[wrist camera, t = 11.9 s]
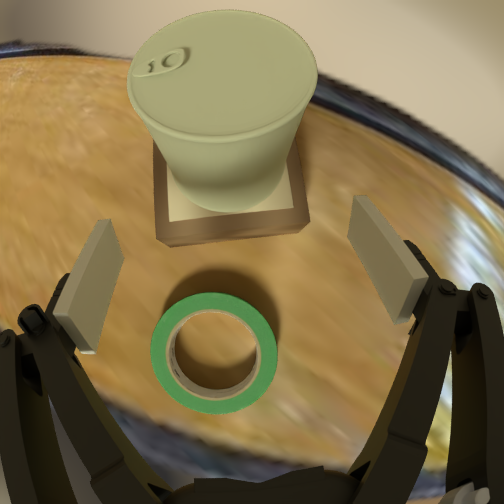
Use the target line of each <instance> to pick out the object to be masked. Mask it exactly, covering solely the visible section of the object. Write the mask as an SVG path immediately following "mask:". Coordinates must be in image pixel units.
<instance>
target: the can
mask: <svg viewBox="0 0 504 504" xmlns="http://www.w3.org/2000/svg"><path fill="white" fill-rule="evenodd" d="M317 78H318V70H317V64H316V60H315V57H314V55H313V53H312V51H311V49H310V48H309V46H308V44H307V43H306V42H305V41H304V40H303V38H302V37H301V36H300V35H299V34H297V33H296V32H295V31H294V30H292V29H291V28H290V27H288V26H287V25H285V24H283V23H281V22H280V21H278V20H275V19H273V18H271V17H268V16H265V15H262V14H258V13H254V12H248V11H241V10H214V11H207V12H202V13H198V14H194V15H190V16H187V17H184V18H182V19H179V20H177V21H175V22H173V23H171V24H169V25H167V26H166V27H164V28H163V29H161V30H159V31H158V32H157V33H155V34H154V35H153V36H151V37H150V38H149V39H148V40H147V41H146V42H145V43H144V44H143V46H142V47H141V48H140V49H139V51H138V52H137V54H136V55H135V57H134V59H133V61H132V63H131V65H130V68H129V71H128V76H127V91H128V96H129V99H130V102H131V104H132V106H133V108H134V109H135V111H136V112H137V114H138V115H139V116H140V117H141V118H142V120H143V122H144V124H145V125H146V127H147V129H148V130H149V132H150V134H151V136H152V137H153V139H154V141H155V143H156V144H157V146H158V148H159V150H160V151H161V153H162V155H163V157H164V159H165V160H166V162H167V164H168V166H169V168H170V170H171V172H172V176H173V179H174V181H175V183H176V185H177V187H178V188H179V190H180V191H181V192H182V194H183V195H184V196H185V197H186V198H188V199H189V200H190V201H191V202H193V203H194V204H196V205H198V206H200V207H202V208H205V209H208V210H211V211H216V212H237V211H242V210H245V209H248V208H251V207H253V206H255V205H257V204H259V203H261V202H262V201H264V200H265V199H266V198H267V197H269V196H270V195H271V194H272V192H273V191H274V190H275V189H276V187H277V186H278V184H279V183H280V181H281V179H282V176H283V173H284V169H285V162H286V159H287V156H288V153H289V150H290V148H291V145H292V142H293V140H294V137H295V134H296V131H297V129H298V126H299V124H300V121H301V119H302V116H303V114H304V111H305V109H306V106H307V104H308V103H309V101H310V99H311V98H312V96H313V94H314V91H315V88H316V85H317Z"/></svg>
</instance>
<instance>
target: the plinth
mask: <svg viewBox="0 0 504 504" xmlns="http://www.w3.org/2000/svg"><path fill="white" fill-rule="evenodd" d="M153 175H154V208H155V228H156V239H157V240H159V241H160V242H162V243H164V244H165V245H167V246H169V247H179V246H187V245H196V244H204V243H213V242H221V241H230V240H239V239H248V238H257V237H266V236H275V235H284V234H293V233H299V232H300V231H301V230H302V229H303V228H304V227H305V226H306V225H307V224H308V223H309V222H310V216H309V210H308V203H307V197H306V192H305V186H304V180H303V175H302V169H301V164H300V159H299V153H298V148H297V143H296V138H295V137H294V140H293V142H292V145H291V148H290V150H289V153H288V156H287V159H286V162H285V169H284V173H283V176H282V179H281V181H280V183H279V184H278V186H277V187H276V189H275V190H274V191H273V192H272V194H271V195H270V196H269V197H267V198H266V199H265V200H264V201H262V202H261V203H259V204H257V205H255V206H253V207H251V208H248V209H245V210H242V211H237V212H216V211H211V210H208V209H205V208H202V207H200V206H198V205H196V204H194V203H193V202H191V201H190V200H189V199H188V198H186V197H185V196H184V195H183V194H182V192H181V191H180V190H179V188H178V187H177V185H176V183H175V181H174V179H173V176H172V172H171V170H170V168H169V166H168V164H167V162H166V160H165V159H164V157H163V155H162V153H161V151H160V150H159V148H158V146H157V144H156V143H155V141H154V139H153Z"/></svg>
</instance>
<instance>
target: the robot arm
mask: <svg viewBox="0 0 504 504" xmlns="http://www.w3.org/2000/svg"><path fill="white" fill-rule="evenodd" d="M347 237H348V239H349V241H350V243H351V244H352V246H353V248H354V250H355V251H356V253H357V255H358V257H359V258H360V260H361V262H362V264H363V266H364V267H365V269H366V271H367V273H368V275H369V277H370V278H371V280H372V282H373V284H374V286H375V288H376V290H377V292H378V294H379V295H380V297H381V299H382V301H383V303H384V305H385V307H386V309H387V311H388V313H389V315H390V317H391V319H392V321H393V323H394V325H395V324H400V323H404V322H408V321H409V319H410V317H411V315H412V313H413V314H414V316H415V318H416V320H415V322H414V324H413V326H412V328H411V330H410V332H409V333H408V334H409V335H410V337H409V340H408V343H407V346H406V349H405V352H404V355H403V358H402V361H401V364H400V366H399V369H398V372H397V375H396V377H395V380H394V382H393V385H392V387H391V390H390V392H389V395H388V397H387V399H386V402H385V404H384V406H383V409H382V411H381V413H380V415H379V418H378V420H377V422H376V424H375V426H374V428H373V430H372V432H371V434H370V436H369V438H368V440H367V442H366V444H365V446H364V448H363V450H362V452H361V453H360V455H359V456H358V457H357V459H356V460H355V462H354V463H353V465H352V466H351V468H350V470H349V471H348V473H347V474H345V473H342V472H338V471H333V470H324V468H323V466H318V467H313V468H308V469H302V470H296V471H291V472H289V473H286V474H284V475H281V476H278V477H276V478H273V479H270V480H267V481H265V482H261V483H254V482H247V481H241V480H234V479H229V478H194V483H192V484H188V485H186V486H183V487H181V488H179V489H177V490H175V491H174V490H173V489H172V488H171V487H170V486H169V485H168V484H167V483H166V482H165V481H164V480H163V479H162V478H160V477H159V476H158V475H157V474H156V473H155V472H154V471H153V470H152V469H151V468H150V466H149V465H148V464H147V463H146V461H145V460H144V459H143V458H142V456H141V455H140V454H139V453H138V451H137V450H136V449H135V447H134V446H133V445H132V443H131V442H130V441H129V439H128V438H127V437H126V435H125V434H124V433H123V431H122V430H121V428H120V427H119V425H118V424H117V423H116V421H115V420H114V418H113V417H112V415H111V414H110V412H109V411H108V409H107V407H106V406H105V404H104V403H103V401H102V400H101V398H100V396H99V395H98V393H97V391H96V390H95V388H94V386H93V385H92V383H91V381H90V380H89V378H88V376H87V374H86V372H85V371H84V369H83V367H82V365H81V363H80V361H79V360H78V358H77V356H76V355H75V354H74V351H75V348H76V347H77V348H78V349H79V351H80V352H81V353H82V354H96V351H97V347H98V343H99V339H100V336H101V332H102V328H103V324H104V321H105V317H106V314H107V310H108V307H109V304H110V300H111V297H112V294H113V291H114V288H115V285H116V281H117V278H118V275H119V272H120V269H121V267H122V264H123V261H124V256H123V254H122V251H121V248H120V245H119V243H118V240H117V237H116V234H115V231H114V228H113V225H112V222H111V219H104V220H98V222H97V224H96V225H95V227H94V229H93V231H92V232H91V234H90V236H89V238H88V240H87V242H86V243H85V245H84V247H83V249H82V251H81V253H80V255H79V257H78V259H77V261H76V263H75V265H74V267H73V269H72V271H71V273H66V274H65V275H64V276H63V277H62V278H61V279H60V281H59V282H58V285H57V287H56V290H55V291H54V293H53V297H51V300H50V302H49V304H48V306H47V309H46V311H45V313H44V312H43V310H42V309H41V307H40V306H39V305H37V304H32V305H29V306H27V307H26V308H25V309H23V310H22V312H21V313H20V314H19V317H18V325H19V326H20V327H21V329H22V330H23V331H24V334H21V335H18V336H17V335H16V334H15V332H14V331H13V330H11V329H7V330H4V331H3V332H1V333H0V454H1V461H2V466H3V471H4V476H5V480H6V484H7V488H8V492H9V496H10V500H11V503H12V504H78V503H77V500H76V498H75V495H74V492H73V490H72V487H71V484H70V481H69V478H68V475H67V472H66V469H65V466H64V462H63V459H62V455H61V452H60V448H59V445H58V441H57V437H56V432H55V428H54V424H53V419H52V414H51V409H50V404H49V398H48V395H49V397H50V399H51V402H52V404H53V406H54V408H55V411H56V413H57V415H58V417H59V419H60V421H61V423H62V425H63V427H64V429H65V431H66V433H67V435H68V437H69V439H70V441H71V442H72V444H73V446H74V448H75V450H76V451H77V453H78V455H79V457H80V458H81V460H82V462H83V464H84V465H85V467H86V468H87V470H88V472H89V473H90V475H91V478H92V479H91V481H90V484H91V487H92V489H93V490H94V492H95V493H96V495H97V496H98V498H99V499H100V501H101V502H102V503H103V504H406V502H407V500H408V498H409V496H410V493H411V491H412V489H413V487H414V485H415V483H416V480H417V478H418V476H419V474H420V471H421V469H422V466H423V464H424V461H425V459H426V456H427V452H428V448H427V446H426V445H425V443H426V439H427V436H428V433H429V430H430V427H431V424H432V421H433V418H434V415H435V412H436V408H437V405H438V401H439V398H440V394H441V391H442V387H443V383H444V379H445V375H446V370H447V366H448V361H449V356H450V351H451V357H452V419H451V434H450V445H449V455H448V463H447V471H446V494H445V495H444V496H443V498H442V499H441V501H440V502H439V503H438V504H504V334H503V330H502V325H501V321H500V316H499V312H498V308H497V305H496V301H495V297H494V294H493V292H492V291H491V289H490V288H489V287H488V286H486V285H485V284H482V283H475V284H473V286H472V287H471V289H470V291H467V290H458V289H457V287H456V286H455V285H454V284H453V283H452V282H450V281H449V280H446V279H440V277H439V276H438V274H437V273H436V272H435V270H434V269H433V267H432V266H431V265H430V263H429V262H428V261H427V260H426V258H425V257H424V255H423V254H422V253H421V251H420V250H419V249H418V247H417V246H416V245H414V244H413V243H412V242H410V241H409V240H402V239H401V238H400V236H399V235H398V234H397V232H396V231H395V230H394V229H393V227H392V226H391V225H390V223H389V222H388V221H387V220H386V218H385V217H384V216H383V215H382V214H381V212H380V211H379V210H378V209H377V207H376V206H375V205H374V204H373V203H372V201H371V200H370V199H369V198H368V197H367V196H366V195H359V196H354V198H353V205H352V211H351V218H350V224H349V230H348V236H347Z"/></svg>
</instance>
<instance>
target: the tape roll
mask: <svg viewBox="0 0 504 504" xmlns="http://www.w3.org/2000/svg"><path fill="white" fill-rule="evenodd" d="M206 312H216V313H222V314H225V315H228V316H231V317H233V318H235V319H236V320H238V321H239V322H241V323H242V324H243V325H244V326H245V327H246V328H247V329H248V330H249V331H250V333H251V334H252V336H253V338H254V340H255V343H256V360H255V363H254V366H253V368H252V370H251V372H250V373H249V375H248V376H247V377H246V378H245V379H244V380H243V381H242V382H240V383H239V384H237V385H235V386H233V387H230V388H226V389H208V388H204V387H201V386H199V385H197V384H195V383H194V382H192V381H191V380H190V379H188V378H187V377H186V376H185V375H184V373H183V372H182V371H181V369H180V368H179V366H178V363H177V361H176V357H175V351H174V346H175V339H176V336H177V334H178V331H179V330H180V328H181V327H182V325H183V324H184V323H185V322H186V321H187V320H188V319H189V318H191V317H192V316H195V315H197V314H200V313H206ZM150 353H151V362H152V366H153V369H154V372H155V375H156V377H157V379H158V381H159V382H160V384H161V385H162V387H163V388H164V389H165V391H166V392H167V393H168V394H169V395H170V396H171V397H172V398H174V399H175V400H176V401H177V402H179V403H180V404H182V405H184V406H185V407H188V408H190V409H192V410H195V411H198V412H202V413H207V414H227V413H232V412H235V411H238V410H241V409H243V408H245V407H247V406H249V405H251V404H252V403H254V402H255V401H256V400H258V399H259V398H260V397H261V396H262V395H263V394H264V392H265V391H266V390H267V388H268V387H269V385H270V384H271V382H272V380H273V377H274V375H275V371H276V367H277V356H278V355H277V345H276V340H275V337H274V334H273V331H272V329H271V327H270V325H269V324H268V322H267V321H266V319H265V318H264V317H263V315H262V314H261V313H260V312H259V311H258V310H257V309H256V308H255V307H254V306H252V305H251V304H250V303H248V302H247V301H245V300H243V299H242V298H239V297H237V296H234V295H231V294H227V293H222V292H204V293H198V294H194V295H191V296H188V297H186V298H184V299H182V300H180V301H178V302H177V303H175V304H174V305H172V306H171V307H170V308H169V309H168V310H167V311H166V312H165V313H164V314H163V316H162V317H161V318H160V320H159V322H158V323H157V325H156V327H155V330H154V332H153V335H152V340H151V350H150Z"/></svg>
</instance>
